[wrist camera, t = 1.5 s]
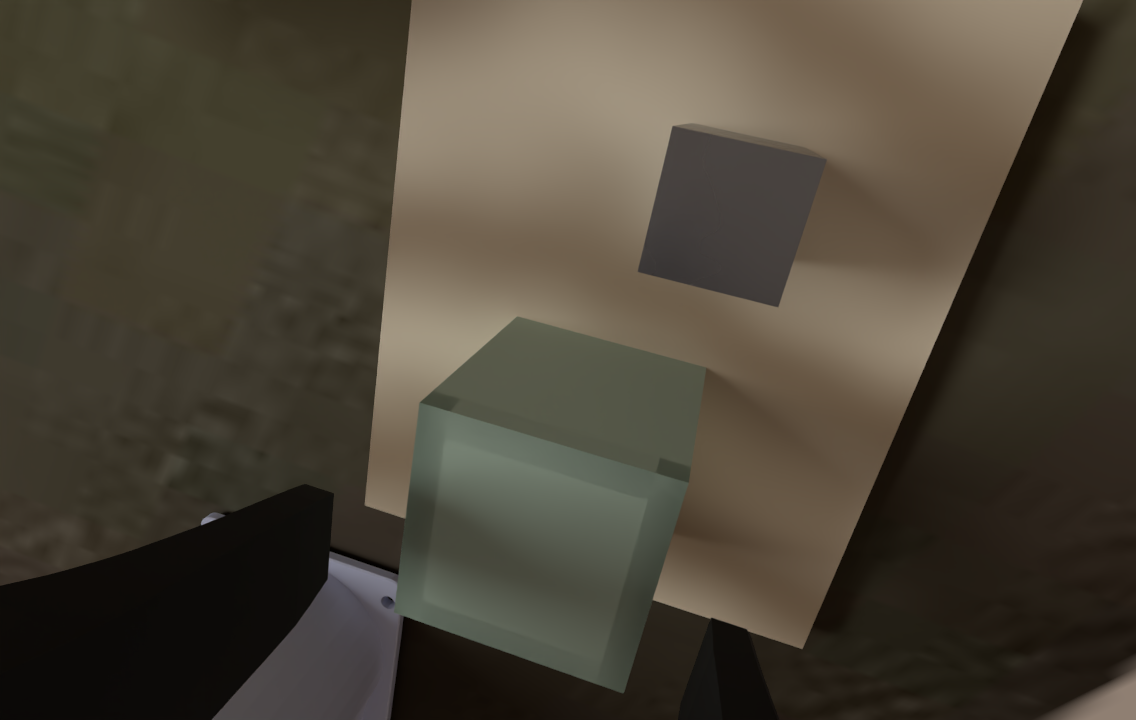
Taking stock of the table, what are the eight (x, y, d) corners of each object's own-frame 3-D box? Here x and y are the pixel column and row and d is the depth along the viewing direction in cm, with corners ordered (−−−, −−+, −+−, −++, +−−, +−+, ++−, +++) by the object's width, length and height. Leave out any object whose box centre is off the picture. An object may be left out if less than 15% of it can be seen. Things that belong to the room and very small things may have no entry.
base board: (799, 625, 21) (802, 649, 20) (380, 489, 23) (364, 505, 22) (1061, 6, 14) (1083, -1, 13) (440, -101, 16) (422, -114, 15)
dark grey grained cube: (770, 258, 16) (778, 307, 12) (664, 233, 17) (637, 272, 12) (805, 147, 15) (826, 159, 11) (691, 123, 16) (672, 125, 12)
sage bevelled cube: (658, 530, 19) (623, 693, 14) (489, 477, 20) (394, 612, 15) (706, 367, 17) (688, 482, 12) (517, 316, 18) (419, 402, 13)
